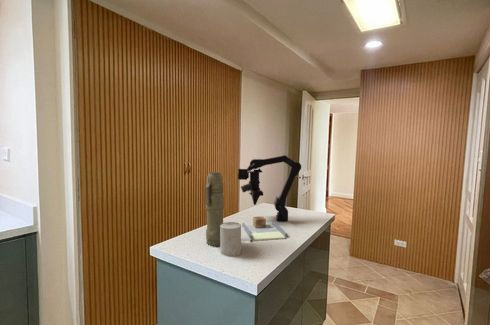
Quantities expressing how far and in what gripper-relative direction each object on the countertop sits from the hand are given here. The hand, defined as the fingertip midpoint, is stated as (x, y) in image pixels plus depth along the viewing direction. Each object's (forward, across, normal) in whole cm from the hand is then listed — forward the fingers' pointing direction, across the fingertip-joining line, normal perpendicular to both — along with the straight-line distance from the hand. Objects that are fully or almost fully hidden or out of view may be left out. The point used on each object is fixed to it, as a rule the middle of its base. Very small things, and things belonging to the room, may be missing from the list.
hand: (254, 204), depth 165 cm
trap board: (+11, +20, 0) cm, 23 cm away
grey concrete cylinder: (+12, +42, -21) cm, 48 cm away
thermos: (+11, +30, -27) cm, 42 cm away
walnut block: (+10, +12, 0) cm, 16 cm away
